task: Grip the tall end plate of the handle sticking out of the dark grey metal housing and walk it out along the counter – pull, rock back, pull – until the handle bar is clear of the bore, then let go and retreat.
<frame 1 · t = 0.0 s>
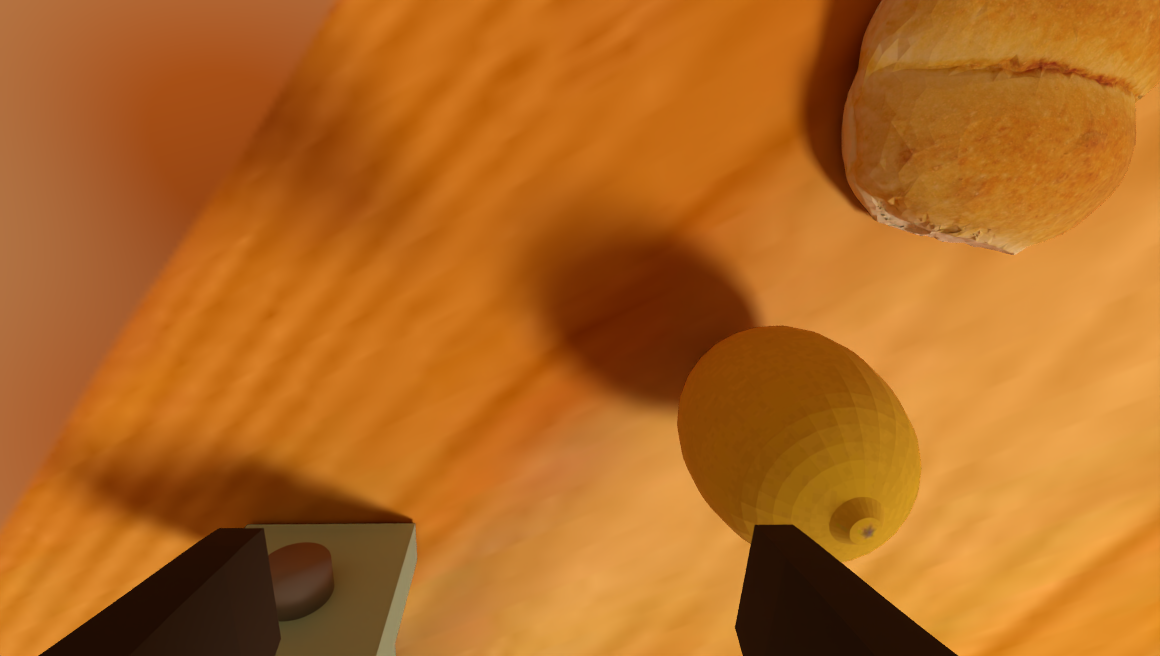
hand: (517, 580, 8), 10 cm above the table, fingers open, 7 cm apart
bread roll: (967, 95, 17), on the table
lemon: (732, 370, 19), on the table
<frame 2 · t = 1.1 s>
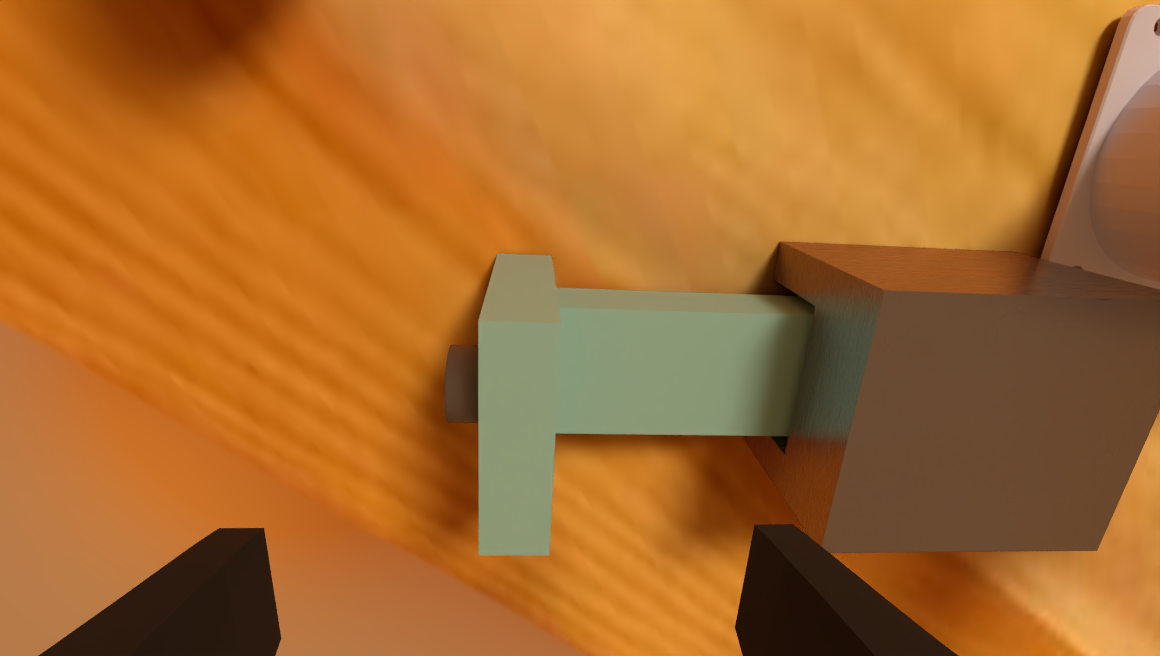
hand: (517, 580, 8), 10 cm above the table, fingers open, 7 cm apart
housing: (862, 350, 19), on the table
handle: (706, 388, 15), point 3 cm above the table, slide at 0.0 cm
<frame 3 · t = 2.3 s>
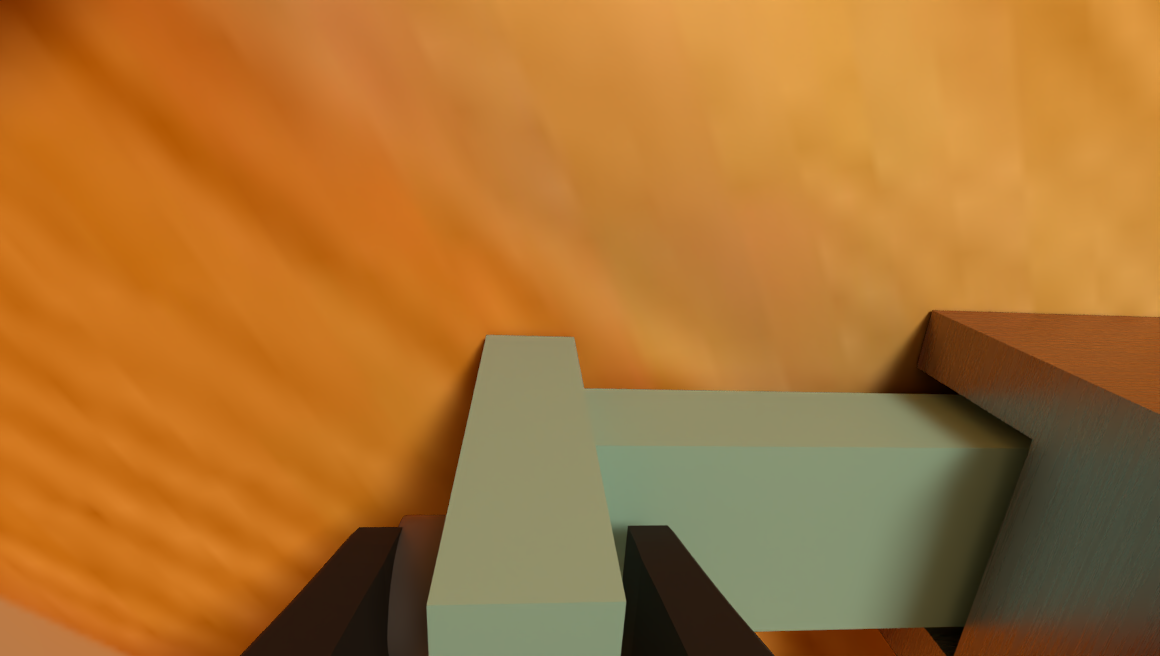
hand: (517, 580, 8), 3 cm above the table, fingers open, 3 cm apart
housing: (1039, 466, 12), on the table
handle: (845, 580, 9), point 3 cm above the table, slide at -0.1 cm, touching gripper
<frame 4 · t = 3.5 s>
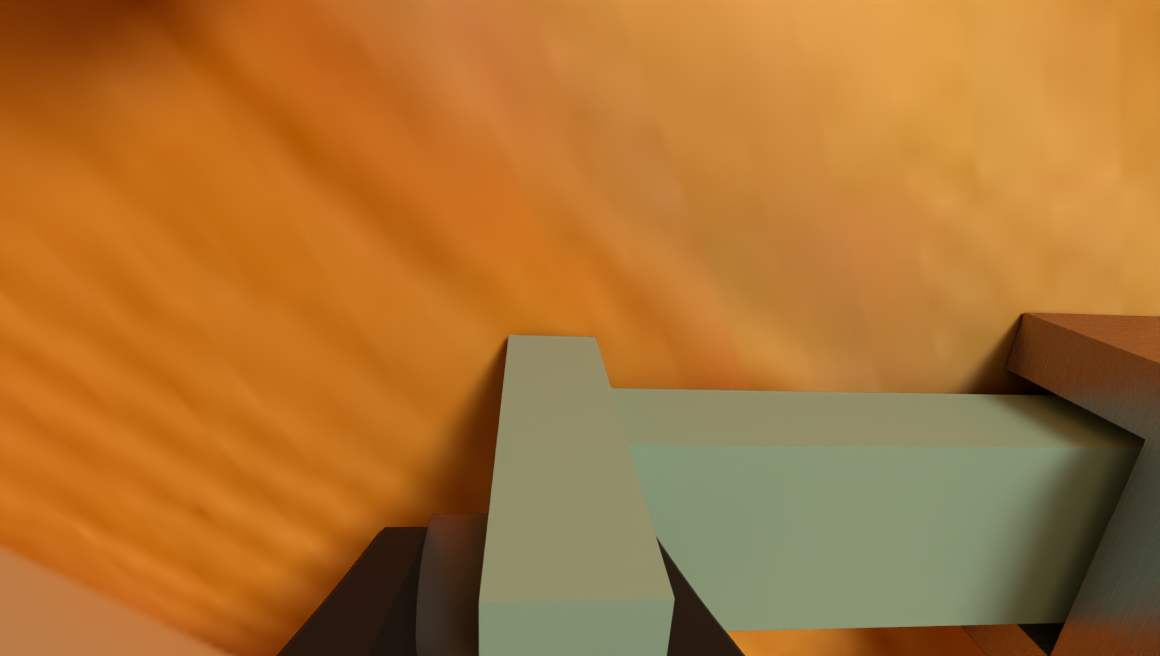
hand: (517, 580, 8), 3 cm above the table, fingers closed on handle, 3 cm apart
housing: (1119, 465, 13), on the table
handle: (869, 578, 9), point 3 cm above the table, slide at 1.5 cm, touching gripper
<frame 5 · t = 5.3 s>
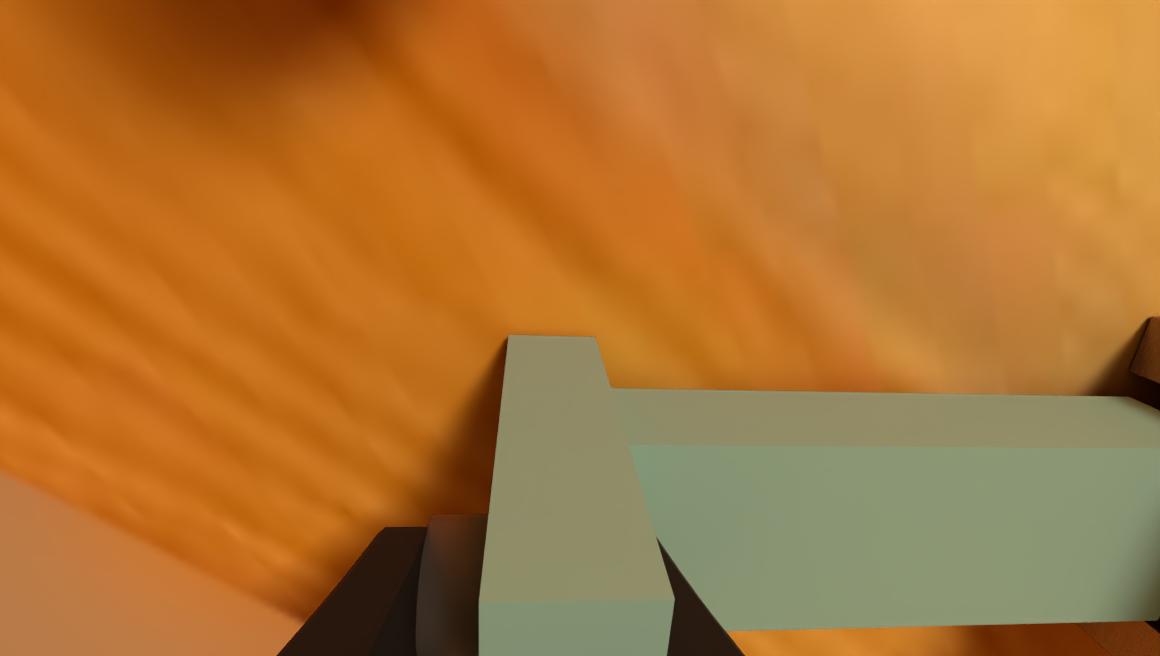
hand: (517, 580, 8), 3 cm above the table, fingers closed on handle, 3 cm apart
handle: (869, 578, 9), point 3 cm above the table, slide at 4.3 cm, touching gripper
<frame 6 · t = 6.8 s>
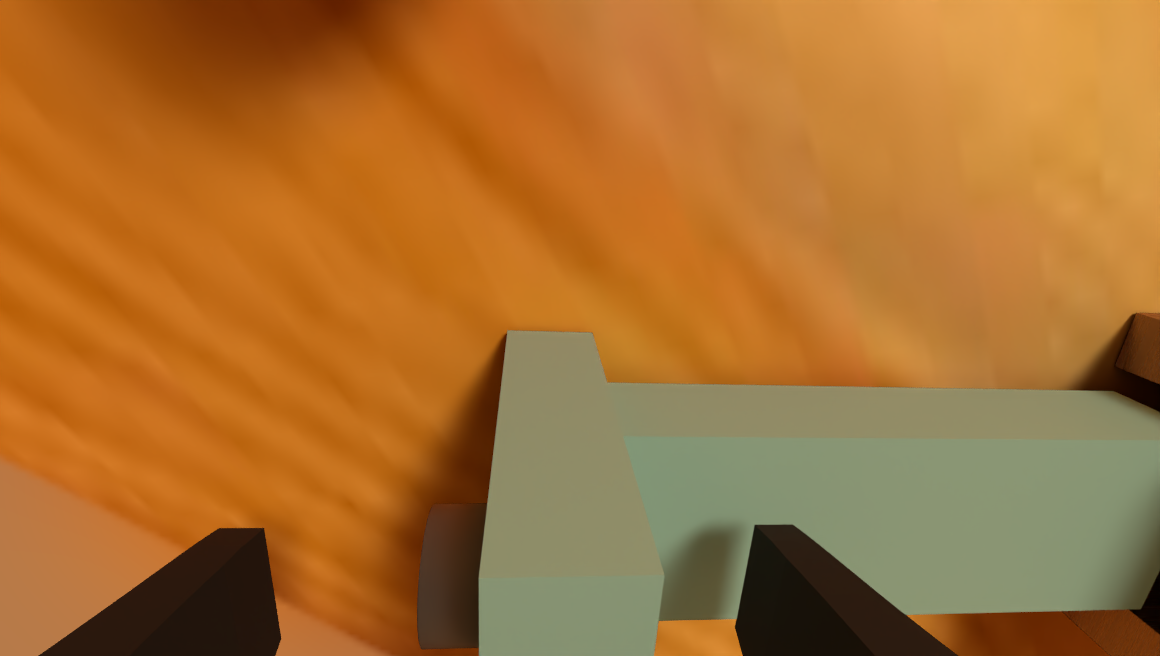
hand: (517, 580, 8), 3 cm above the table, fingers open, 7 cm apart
handle: (858, 566, 9), point 3 cm above the table, slide at 4.3 cm
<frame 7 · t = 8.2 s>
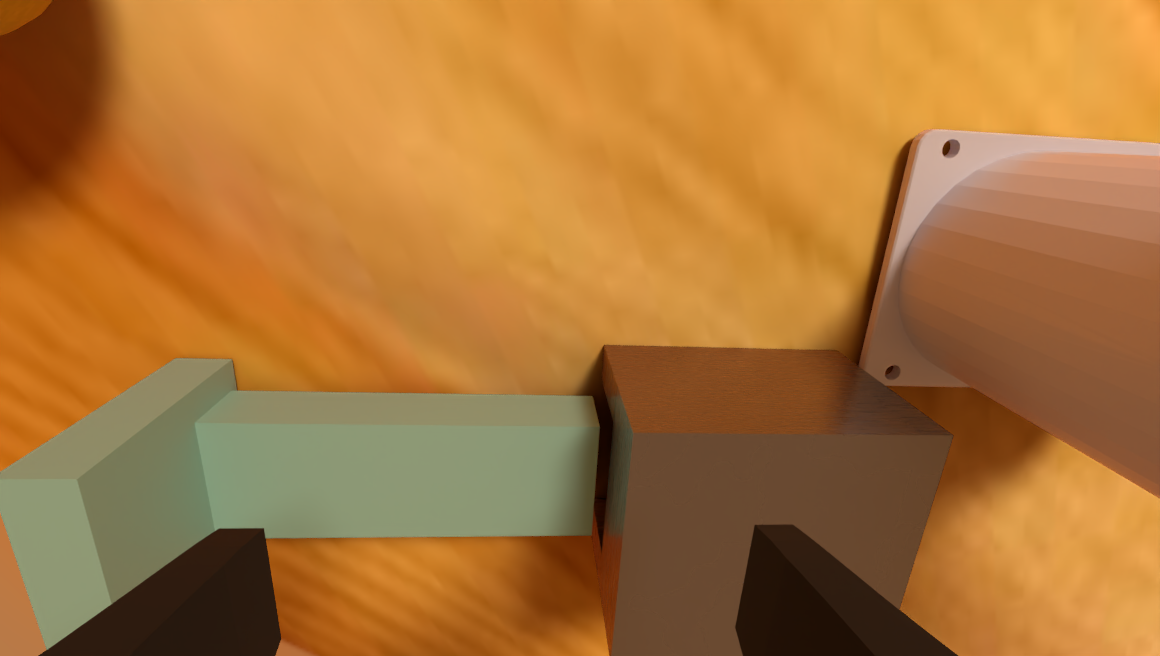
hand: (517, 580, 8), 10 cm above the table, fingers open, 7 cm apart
housing: (697, 442, 19), on the table
handle: (352, 500, 15), point 3 cm above the table, slide at 4.3 cm
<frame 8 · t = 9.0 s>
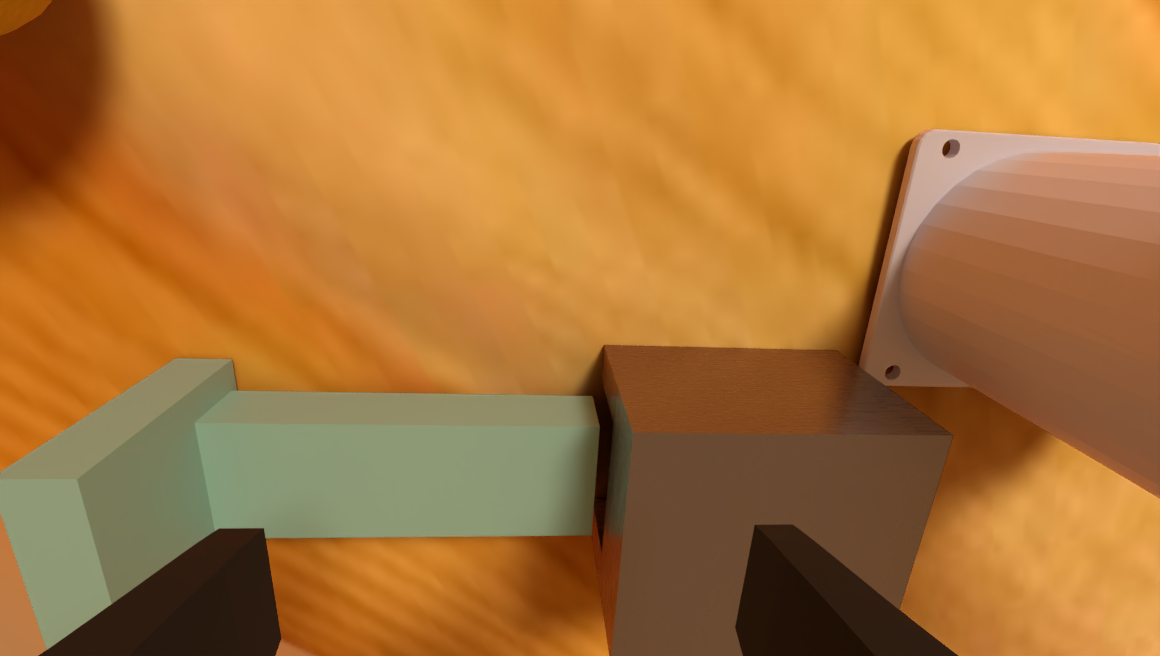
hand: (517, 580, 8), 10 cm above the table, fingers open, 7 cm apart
housing: (697, 442, 19), on the table
handle: (352, 500, 15), point 3 cm above the table, slide at 4.3 cm
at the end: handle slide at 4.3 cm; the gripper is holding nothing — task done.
